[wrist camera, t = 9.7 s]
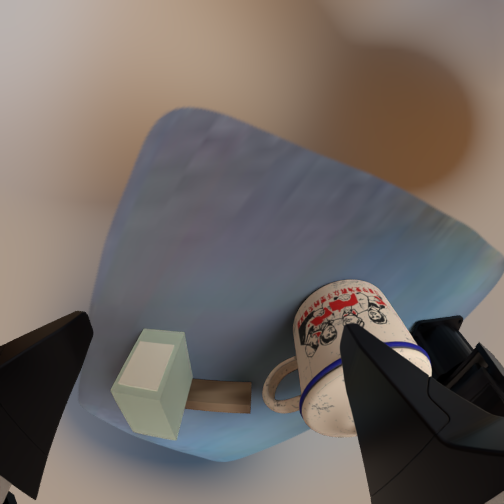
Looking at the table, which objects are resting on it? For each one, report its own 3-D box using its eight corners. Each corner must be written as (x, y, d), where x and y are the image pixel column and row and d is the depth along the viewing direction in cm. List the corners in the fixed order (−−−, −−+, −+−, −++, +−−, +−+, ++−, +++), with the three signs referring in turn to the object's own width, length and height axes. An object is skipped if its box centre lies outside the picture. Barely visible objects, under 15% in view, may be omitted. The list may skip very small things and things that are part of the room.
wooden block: (251, 382, 26) (250, 404, 23) (251, 392, 26) (250, 414, 23) (139, 371, 26) (130, 391, 23) (143, 381, 27) (135, 401, 24)
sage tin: (184, 330, 23) (159, 399, 16) (193, 377, 26) (176, 441, 18) (143, 327, 24) (109, 389, 16) (156, 373, 26) (134, 432, 18)
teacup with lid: (375, 256, 20) (454, 353, 9) (396, 334, 23) (445, 428, 12) (240, 316, 23) (225, 439, 12) (283, 380, 25) (289, 484, 15)
